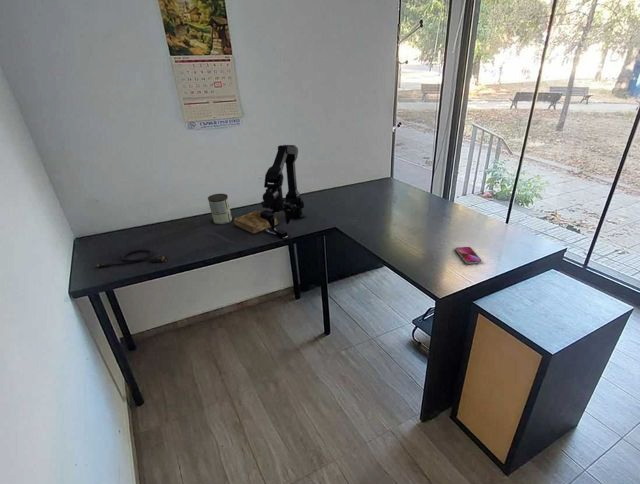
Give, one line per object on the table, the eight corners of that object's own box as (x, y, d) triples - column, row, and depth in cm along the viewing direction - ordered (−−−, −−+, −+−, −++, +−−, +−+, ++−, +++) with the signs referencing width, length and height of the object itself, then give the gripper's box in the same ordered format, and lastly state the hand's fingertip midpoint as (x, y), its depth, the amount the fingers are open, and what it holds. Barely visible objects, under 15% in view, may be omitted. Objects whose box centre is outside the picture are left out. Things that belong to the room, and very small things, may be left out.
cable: (108, 254, 182) (107, 251, 181) (170, 248, 186) (169, 246, 185) (97, 268, 171) (95, 265, 170) (163, 262, 175) (162, 259, 174)
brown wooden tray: (258, 217, 219) (257, 210, 217) (277, 225, 209) (276, 218, 207) (234, 225, 209) (233, 218, 207) (254, 234, 199) (252, 227, 197)
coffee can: (210, 220, 216) (205, 195, 208) (228, 216, 221) (224, 192, 213) (216, 226, 209) (210, 201, 201) (234, 221, 213) (230, 197, 206)
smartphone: (469, 246, 183) (482, 261, 170) (469, 248, 183) (482, 263, 171) (454, 247, 182) (466, 262, 169) (454, 249, 183) (466, 264, 170)
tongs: (265, 232, 201) (264, 228, 200) (273, 229, 204) (272, 224, 203) (281, 239, 193) (281, 235, 192) (290, 236, 197) (289, 231, 195)
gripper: (281, 188, 196) (284, 217, 204) (250, 198, 184) (255, 228, 193) (295, 193, 190) (298, 222, 198) (265, 203, 178) (269, 234, 186)
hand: (280, 226), depth 194 cm, fingers open, 9 cm apart
